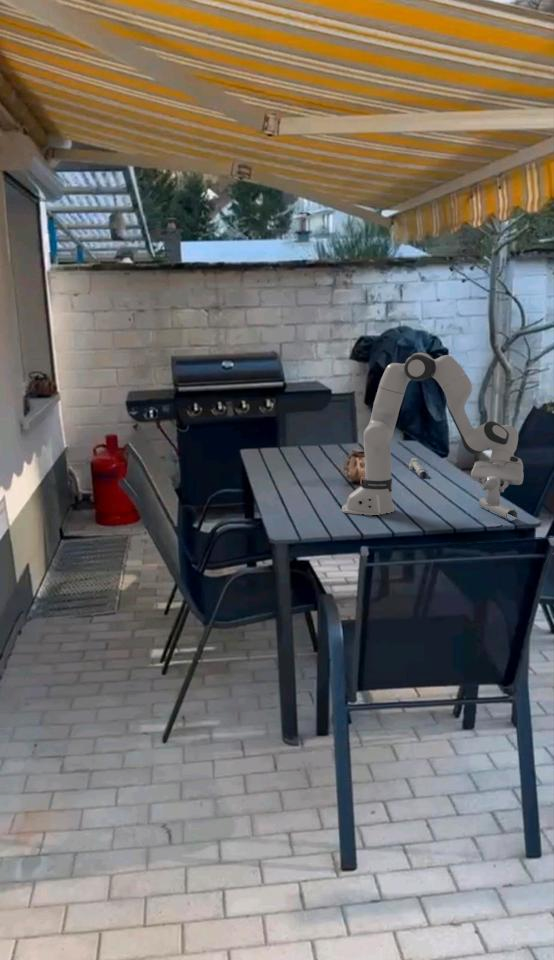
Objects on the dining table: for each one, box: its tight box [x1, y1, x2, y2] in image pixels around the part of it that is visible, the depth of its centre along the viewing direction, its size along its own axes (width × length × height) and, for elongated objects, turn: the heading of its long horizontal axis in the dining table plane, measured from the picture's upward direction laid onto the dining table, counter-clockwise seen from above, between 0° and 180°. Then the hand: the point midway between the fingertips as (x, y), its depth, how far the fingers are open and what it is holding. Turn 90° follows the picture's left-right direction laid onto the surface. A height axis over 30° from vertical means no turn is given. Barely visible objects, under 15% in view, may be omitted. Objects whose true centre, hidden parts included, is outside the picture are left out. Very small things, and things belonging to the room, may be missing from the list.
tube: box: [478, 497, 518, 519], centre depth 328 cm, size 5×5×25 cm
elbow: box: [485, 476, 501, 506], centre depth 308 cm, size 8×6×11 cm
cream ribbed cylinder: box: [408, 457, 428, 479], centre depth 408 cm, size 5×7×25 cm
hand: (492, 490), depth 308 cm, fingers closed on elbow, 5 cm apart
